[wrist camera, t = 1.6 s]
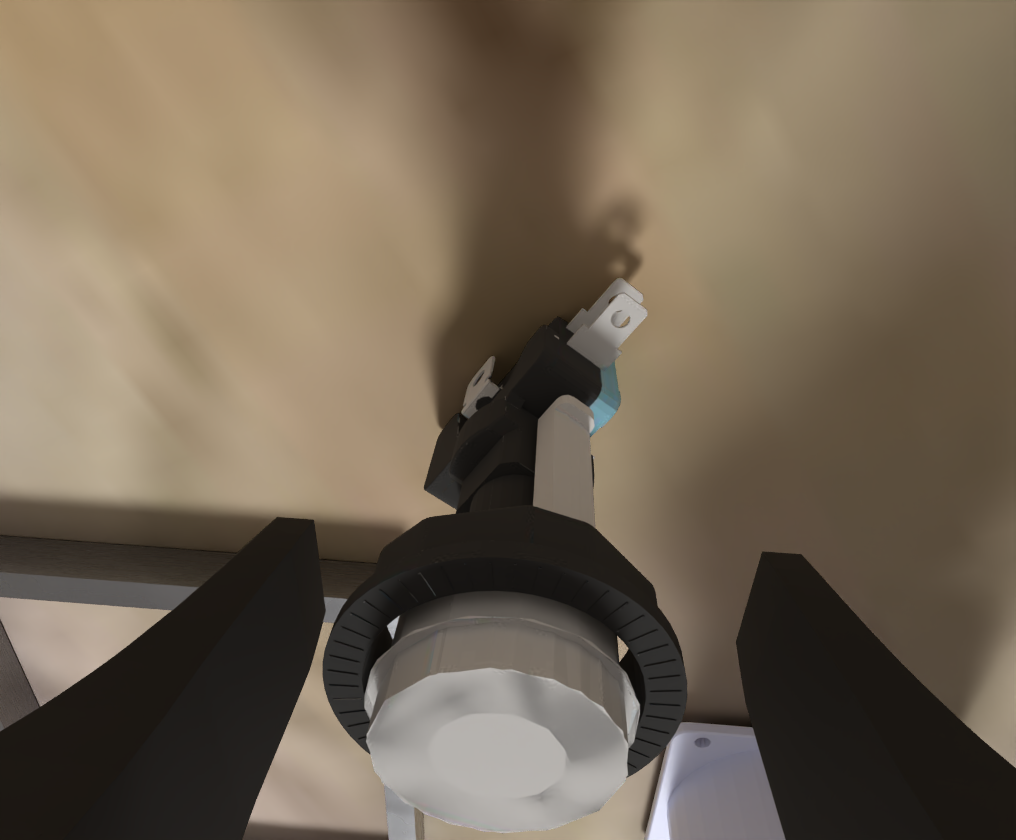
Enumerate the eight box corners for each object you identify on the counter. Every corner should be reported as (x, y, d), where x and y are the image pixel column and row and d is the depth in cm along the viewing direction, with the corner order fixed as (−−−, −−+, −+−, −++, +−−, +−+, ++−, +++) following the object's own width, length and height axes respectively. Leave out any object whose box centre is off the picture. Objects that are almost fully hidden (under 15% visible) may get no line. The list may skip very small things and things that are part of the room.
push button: (541, 208, 16) (514, 463, 7) (717, 345, 17) (872, 696, 9) (385, 413, 19) (235, 766, 10) (546, 515, 20) (533, 903, 12)
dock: (413, 566, 21) (403, 603, 20) (425, 870, 30) (419, 910, 29) (-73, 530, 22) (-112, 563, 21) (77, 839, 31) (56, 876, 29)
